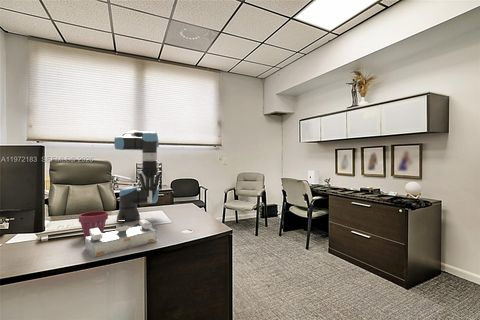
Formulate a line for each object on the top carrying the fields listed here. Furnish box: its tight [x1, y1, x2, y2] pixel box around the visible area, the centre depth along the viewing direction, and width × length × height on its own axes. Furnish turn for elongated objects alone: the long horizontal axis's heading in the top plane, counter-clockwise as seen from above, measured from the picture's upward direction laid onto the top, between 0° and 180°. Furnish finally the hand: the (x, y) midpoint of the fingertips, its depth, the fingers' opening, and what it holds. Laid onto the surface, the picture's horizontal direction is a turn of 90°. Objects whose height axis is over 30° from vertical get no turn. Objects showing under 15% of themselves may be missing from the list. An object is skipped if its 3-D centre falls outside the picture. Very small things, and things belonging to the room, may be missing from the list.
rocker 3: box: [138, 219, 153, 229], centre depth 130 cm, size 8×4×2 cm, turn 44°
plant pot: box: [78, 210, 109, 238], centre depth 136 cm, size 14×14×13 cm
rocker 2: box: [115, 224, 130, 232], centre depth 121 cm, size 8×4×2 cm, turn 44°
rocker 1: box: [89, 228, 102, 240], centre depth 113 cm, size 8×4×2 cm, turn 44°
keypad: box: [128, 221, 154, 228], centre depth 147 cm, size 10×4×15 cm
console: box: [84, 226, 157, 258], centre depth 121 cm, size 14×30×7 cm, turn 134°
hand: (149, 202), depth 132 cm, fingers closed
